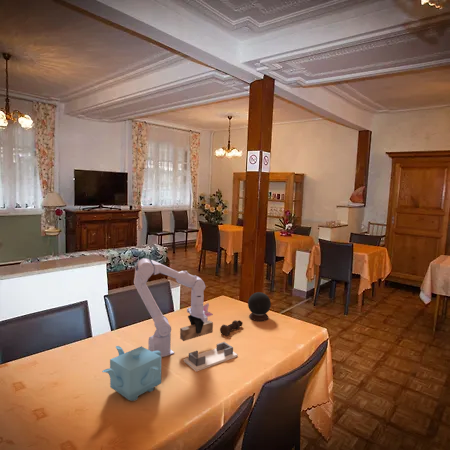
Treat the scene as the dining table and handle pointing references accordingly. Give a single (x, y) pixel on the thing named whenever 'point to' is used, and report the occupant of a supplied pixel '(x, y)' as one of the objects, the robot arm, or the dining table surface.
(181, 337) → the slat
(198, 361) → the board
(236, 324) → the bolt
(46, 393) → the dining table surface
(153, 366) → the blue cube teapot
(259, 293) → the black ball on stand
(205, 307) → the lily
